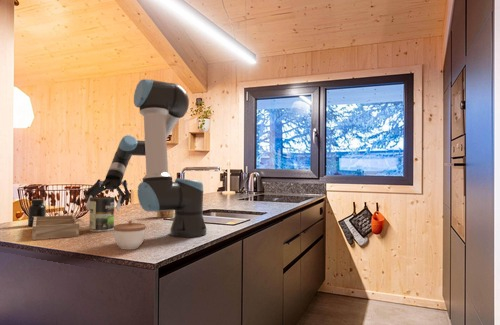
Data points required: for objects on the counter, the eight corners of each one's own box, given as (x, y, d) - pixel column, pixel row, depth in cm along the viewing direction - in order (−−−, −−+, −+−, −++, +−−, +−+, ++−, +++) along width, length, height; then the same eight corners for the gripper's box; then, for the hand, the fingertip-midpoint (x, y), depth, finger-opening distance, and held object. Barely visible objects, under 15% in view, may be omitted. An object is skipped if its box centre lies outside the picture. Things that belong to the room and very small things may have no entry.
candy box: (173, 216, 201) (173, 188, 201) (173, 217, 197) (174, 189, 197) (157, 216, 199) (157, 188, 199) (156, 217, 195) (157, 189, 195)
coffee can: (118, 228, 162) (119, 197, 162) (105, 232, 152) (105, 199, 152) (98, 227, 164) (99, 196, 164) (83, 231, 154) (84, 198, 154)
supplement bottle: (32, 227, 161) (33, 200, 161) (25, 225, 164) (25, 199, 165) (48, 225, 167) (48, 199, 167) (40, 223, 170) (40, 198, 170)
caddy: (78, 236, 144) (79, 223, 144) (32, 239, 136) (32, 226, 136) (74, 225, 166) (74, 215, 166) (33, 228, 158) (34, 217, 158)
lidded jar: (132, 252, 120) (132, 224, 120) (106, 249, 123) (107, 222, 123) (151, 245, 130) (152, 219, 130) (127, 243, 133) (127, 217, 133)
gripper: (142, 179, 177) (132, 214, 162) (92, 178, 177) (77, 213, 163) (139, 169, 172) (128, 204, 157) (87, 168, 172) (71, 202, 157)
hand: (102, 208), depth 160 cm, fingers open, 13 cm apart
